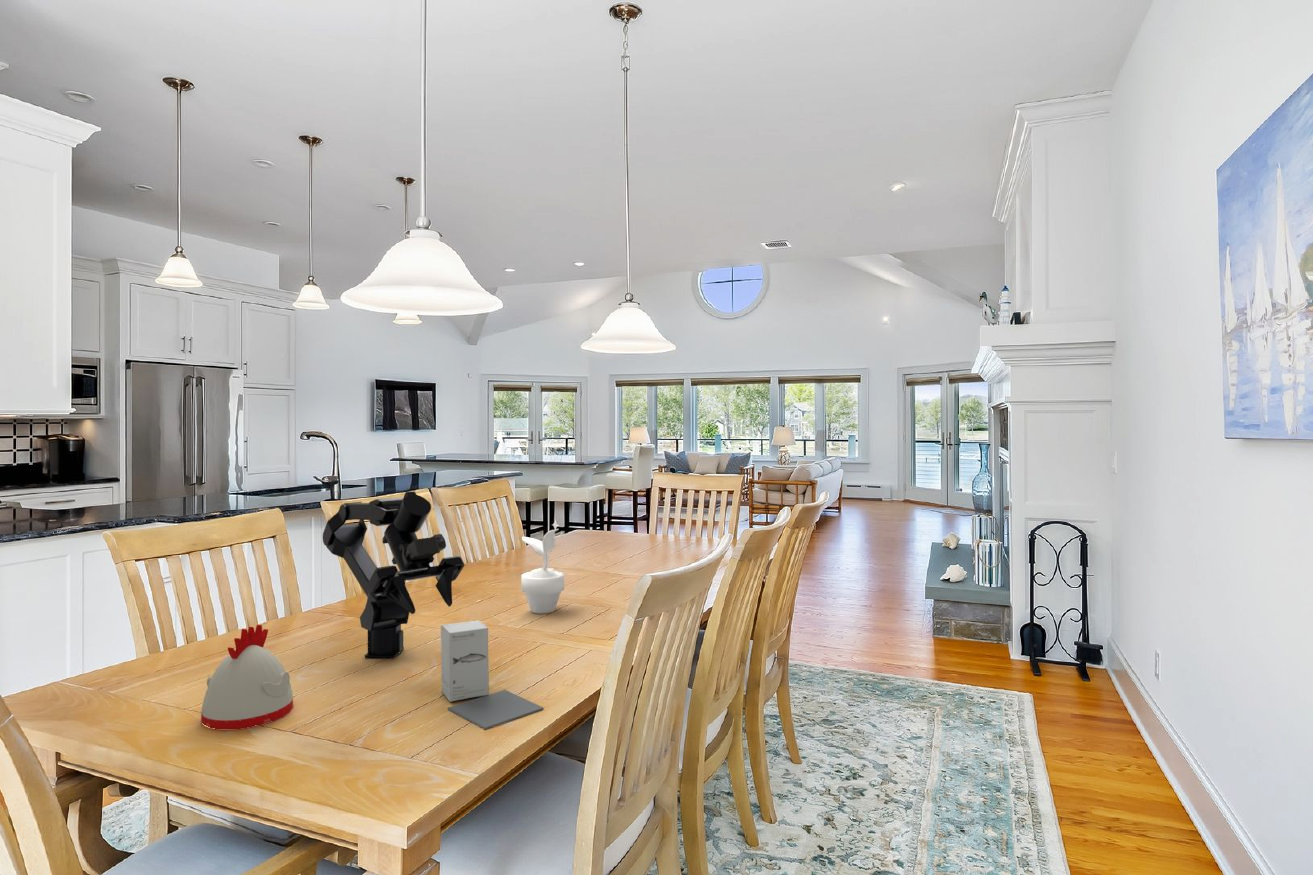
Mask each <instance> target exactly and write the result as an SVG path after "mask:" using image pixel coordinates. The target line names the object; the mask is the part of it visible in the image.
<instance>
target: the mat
mask: <svg viewBox="0 0 1313 875" xmlns="http://www.w3.org/2000/svg"><path fill="white" fill-rule="evenodd" d="M544 708H545V707H543V706H541V705H539V704H537V703H535V702H533V701H530V700H528V699H526V698H524V697H522V696H520V695H518V694H516V693H513V692H510V691H509V690H506V689H503V690H500V691H497V692H492V693H489V695H486V696H479V697H478V698H477V697H476V698H475V699H474V698H473V699H471V700H468V701H464V702H461V703H458V704H454V705H451V706H449V707H448V706H447V710H448V711H450V712H452V713H454V714H455V715H457V716H459V717H461V718H463V719H464V720H467V721H468V722H470V723H472V724H473V725H475V726H477V725H478V726H477V727H479V728H480V729H483V730H484V729H485V730H488V729H491V728H493V726H494V727H497V726H500V725H502V724H506V723H508V722H511V721H514V720H517V719H519V717H520V718H522V717H526V716H528V715H531V714H534V713H537V712H539V711H543V710H545V709H544ZM542 709H543V710H542ZM525 715H526V716H525ZM516 718H517V719H516ZM496 725H497V726H496Z"/></svg>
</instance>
